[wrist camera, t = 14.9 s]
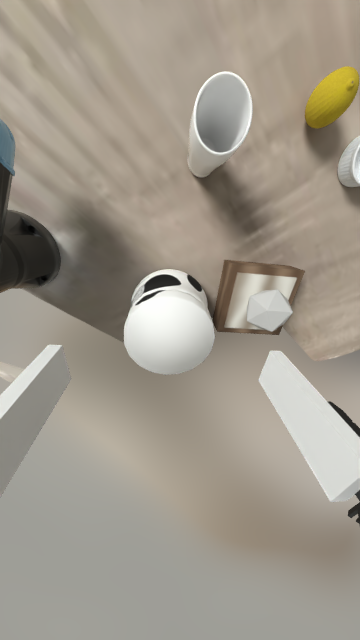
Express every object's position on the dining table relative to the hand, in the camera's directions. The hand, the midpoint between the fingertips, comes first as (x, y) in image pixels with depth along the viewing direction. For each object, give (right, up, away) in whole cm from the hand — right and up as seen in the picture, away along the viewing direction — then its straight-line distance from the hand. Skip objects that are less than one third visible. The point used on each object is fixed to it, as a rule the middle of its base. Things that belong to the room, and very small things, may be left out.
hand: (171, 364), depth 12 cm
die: (+18, +7, +29) cm, 35 cm away
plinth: (+18, +9, +34) cm, 40 cm away
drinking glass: (+5, +32, +22) cm, 39 cm away
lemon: (+23, +38, +20) cm, 49 cm away
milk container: (-2, +8, +34) cm, 35 cm away
